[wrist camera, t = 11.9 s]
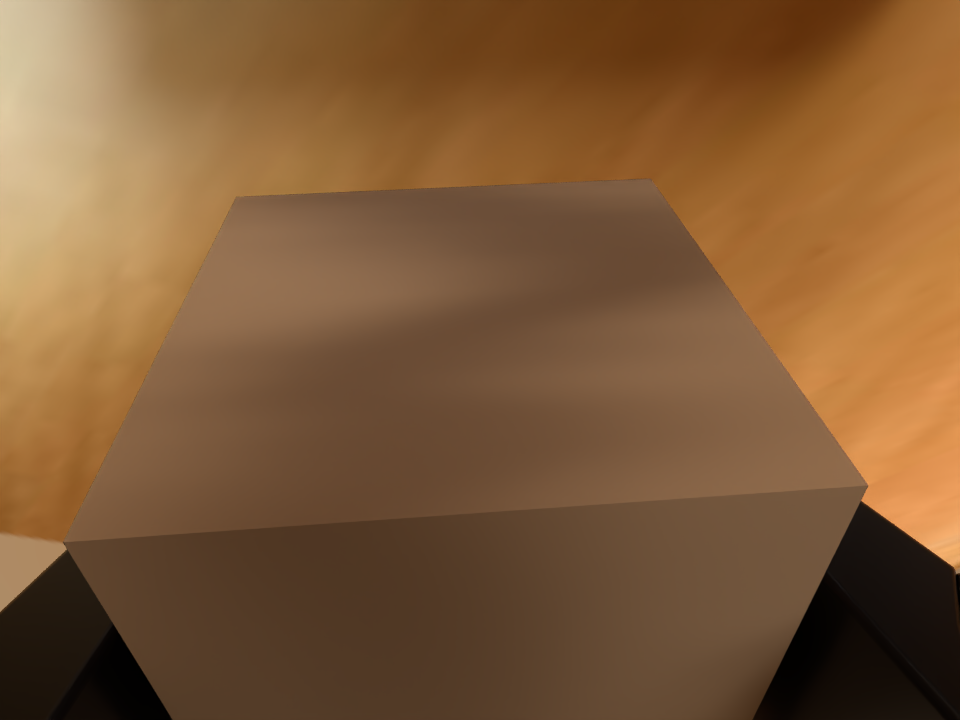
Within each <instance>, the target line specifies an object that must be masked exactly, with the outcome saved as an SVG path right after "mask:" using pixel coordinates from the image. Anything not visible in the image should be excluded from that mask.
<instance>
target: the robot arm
mask: <svg viewBox="0 0 960 720" xmlns="http://www.w3.org/2000/svg"><path fill="white" fill-rule="evenodd" d="M0 720H173V719H172V718H171V716H170V715H169V713H168V711H167V710H166V708H165V706H164V705H163V703H162V702H161V700H160V698H159V697H158V695H157V694H156V692H155V690H154V689H153V687H152V685H151V684H150V682H149V681H148V679H147V677H146V676H145V674H144V673H143V671H142V669H141V668H140V666H139V664H138V663H137V661H136V660H135V658H134V656H133V655H132V653H131V652H130V650H129V648H128V647H127V645H126V643H125V642H124V640H123V639H122V637H121V635H120V634H119V632H118V630H117V629H116V627H115V626H114V624H113V622H112V621H111V619H110V618H109V616H108V614H107V613H106V611H105V609H104V608H103V606H102V605H101V603H100V601H99V600H98V598H97V597H96V595H95V593H94V592H93V590H92V588H91V587H90V585H89V584H88V582H87V580H86V579H85V577H84V576H83V574H82V572H81V571H80V569H79V567H78V566H77V564H76V563H75V561H74V559H73V558H72V556H71V555H70V553H69V551H68V550H66V551H65V552H64V553H63V554H62V555H61V556H59V557H58V558H57V559H56V560H55V561H54V562H53V563H52V564H51V565H50V566H49V567H48V568H47V569H46V570H45V571H43V572H42V573H41V574H40V575H39V576H38V577H37V578H36V579H35V580H34V581H33V582H32V583H31V584H30V585H29V586H28V587H26V588H25V589H24V590H23V591H22V592H21V593H20V594H19V595H18V596H17V597H16V598H15V599H14V600H13V601H11V602H10V603H9V604H8V605H7V606H6V607H5V608H4V609H3V610H2V611H1V612H0ZM752 720H960V573H958V574H956V571H955V569H954V567H953V566H951V565H950V564H948V563H947V562H946V561H944V560H943V559H941V558H940V557H939V556H937V555H936V554H934V553H933V552H932V551H930V550H929V549H927V548H926V547H925V546H923V545H922V544H920V543H919V542H918V541H916V540H915V539H914V538H912V537H911V536H909V535H908V534H907V533H905V532H904V531H902V530H901V529H900V528H898V527H897V526H895V525H894V524H893V523H891V522H890V521H888V520H887V519H886V518H884V517H883V516H881V515H880V514H879V513H877V512H876V511H875V510H873V509H872V508H870V507H869V506H868V505H866V504H865V503H863V502H862V501H860V503H859V505H858V508H857V510H856V512H855V514H854V516H853V518H852V520H851V522H850V524H849V526H848V528H847V530H846V532H845V534H844V536H843V538H842V540H841V542H840V544H839V546H838V548H837V550H836V552H835V554H834V556H833V558H832V560H831V562H830V564H829V566H828V568H827V570H826V572H825V574H824V576H823V578H822V580H821V582H820V584H819V586H818V588H817V590H816V592H815V594H814V596H813V598H812V600H811V602H810V604H809V606H808V608H807V610H806V612H805V614H804V616H803V618H802V620H801V623H800V625H799V627H798V629H797V631H796V633H795V635H794V637H793V639H792V641H791V643H790V645H789V647H788V649H787V651H786V653H785V655H784V657H783V659H782V661H781V663H780V665H779V667H778V669H777V671H776V673H775V675H774V677H773V679H772V681H771V683H770V685H769V687H768V689H767V691H766V693H765V695H764V697H763V699H762V701H761V703H760V705H759V707H758V709H757V711H756V713H755V715H754V717H753V719H752Z"/></svg>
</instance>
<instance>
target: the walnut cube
mask: <svg viewBox="0 0 960 720" xmlns="http://www.w3.org/2000/svg"><path fill="white" fill-rule="evenodd" d="M867 487H868V484H867V483H866V481H865V480H864V479H863V477H862V476H861V474H860V473H859V472H858V470H857V469H856V467H855V466H854V464H853V463H852V462H851V460H850V459H849V457H848V456H847V455H846V453H845V452H844V450H843V449H842V448H841V446H840V445H839V443H838V442H837V441H836V439H835V438H834V436H833V435H832V433H831V432H830V431H829V429H828V428H827V426H826V425H825V424H824V422H823V421H822V419H821V418H820V417H819V415H818V414H817V412H816V411H815V410H814V408H813V407H812V405H811V404H810V402H809V401H808V400H807V398H806V397H805V395H804V394H803V393H802V391H801V390H800V388H799V387H798V386H797V384H796V383H795V381H794V380H793V379H792V377H791V376H790V374H789V373H788V371H787V370H786V369H785V367H784V366H783V364H782V363H781V362H780V360H779V359H778V357H777V356H776V355H775V353H774V352H773V350H772V349H771V348H770V346H769V345H768V343H767V342H766V341H765V339H764V338H763V336H762V335H761V333H760V332H759V331H758V329H757V328H756V326H755V325H754V324H753V322H752V321H751V319H750V318H749V317H748V315H747V314H746V312H745V311H744V310H743V308H742V307H741V305H740V304H739V302H738V301H737V300H736V298H735V297H734V295H733V294H732V293H731V291H730V290H729V288H728V287H727V286H726V284H725V283H724V281H723V280H722V279H721V277H720V276H719V274H718V273H717V271H716V270H715V269H714V267H713V266H712V264H711V263H710V262H709V260H708V259H707V257H706V256H705V255H704V253H703V252H702V250H701V249H700V248H699V246H698V245H697V243H696V242H695V240H694V239H693V238H692V236H691V235H690V233H689V232H688V231H687V229H686V228H685V226H684V225H683V224H682V222H681V221H680V219H679V218H678V217H677V215H676V214H675V212H674V211H673V209H672V208H671V207H670V205H669V204H668V202H667V201H666V200H665V198H664V197H663V195H662V194H661V193H660V191H659V190H658V188H657V187H656V186H655V184H654V183H653V181H652V180H651V179H631V180H608V181H585V182H563V183H540V184H517V185H495V186H472V187H449V188H427V189H404V190H381V191H359V192H336V193H313V194H291V195H268V196H245V197H236V199H235V201H234V203H233V205H232V207H231V209H230V211H229V212H228V214H227V216H226V218H225V220H224V222H223V224H222V226H221V228H220V230H219V232H218V234H217V236H216V238H215V240H214V242H213V244H212V246H211V248H210V250H209V252H208V254H207V256H206V258H205V260H204V262H203V264H202V266H201V268H200V270H199V272H198V274H197V276H196V278H195V280H194V282H193V284H192V286H191V288H190V290H189V292H188V294H187V296H186V298H185V300H184V302H183V304H182V306H181V308H180V310H179V312H178V314H177V316H176V318H175V320H174V322H173V324H172V326H171V328H170V330H169V332H168V334H167V336H166V338H165V340H164V342H163V344H162V346H161V348H160V350H159V352H158V354H157V356H156V358H155V360H154V362H153V364H152V366H151V368H150V370H149V372H148V374H147V376H146V378H145V380H144V382H143V384H142V386H141V388H140V390H139V392H138V394H137V396H136V398H135V400H134V402H133V404H132V406H131V408H130V410H129V412H128V414H127V416H126V418H125V420H124V422H123V424H122V426H121V428H120V430H119V432H118V434H117V436H116V438H115V440H114V442H113V444H112V446H111V448H110V449H109V451H108V453H107V455H106V457H105V459H104V461H103V463H102V465H101V467H100V469H99V471H98V473H97V475H96V477H95V479H94V481H93V483H92V485H91V487H90V489H89V491H88V493H87V495H86V497H85V499H84V501H83V503H82V505H81V507H80V509H79V511H78V513H77V515H76V517H75V519H74V521H73V523H72V525H71V527H70V529H69V531H68V533H67V535H66V537H65V539H64V541H63V543H64V545H65V546H66V548H67V550H68V551H69V553H70V555H71V556H72V558H73V559H74V561H75V563H76V564H77V566H78V567H79V569H80V571H81V572H82V574H83V576H84V577H85V579H86V580H87V582H88V584H89V585H90V587H91V588H92V590H93V592H94V593H95V595H96V597H97V598H98V600H99V601H100V603H101V605H102V606H103V608H104V609H105V611H106V613H107V614H108V616H109V618H110V619H111V621H112V622H113V624H114V626H115V627H116V629H117V630H118V632H119V634H120V635H121V637H122V639H123V640H124V642H125V643H126V645H127V647H128V648H129V650H130V652H131V653H132V655H133V656H134V658H135V660H136V661H137V663H138V664H139V666H140V668H141V669H142V671H143V673H144V674H145V676H146V677H147V679H148V681H149V682H150V684H151V685H152V687H153V689H154V690H155V692H156V694H157V695H158V697H159V698H160V700H161V702H162V703H163V705H164V706H165V708H166V710H167V711H168V713H169V715H170V716H171V718H172V719H173V720H752V719H753V717H754V715H755V713H756V711H757V709H758V707H759V705H760V703H761V701H762V699H763V697H764V695H765V693H766V691H767V689H768V687H769V685H770V683H771V681H772V679H773V677H774V675H775V673H776V671H777V669H778V667H779V665H780V663H781V661H782V659H783V657H784V655H785V653H786V651H787V649H788V647H789V645H790V643H791V641H792V639H793V637H794V635H795V633H796V631H797V629H798V627H799V625H800V623H801V620H802V618H803V616H804V614H805V612H806V610H807V608H808V606H809V604H810V602H811V600H812V598H813V596H814V594H815V592H816V590H817V588H818V586H819V584H820V582H821V580H822V578H823V576H824V574H825V572H826V570H827V568H828V566H829V564H830V562H831V560H832V558H833V556H834V554H835V552H836V550H837V548H838V546H839V544H840V542H841V540H842V538H843V536H844V534H845V532H846V530H847V528H848V526H849V524H850V522H851V520H852V518H853V516H854V514H855V512H856V510H857V508H858V505H859V503H860V501H861V499H862V497H863V495H864V493H865V491H866V489H867Z"/></svg>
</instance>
